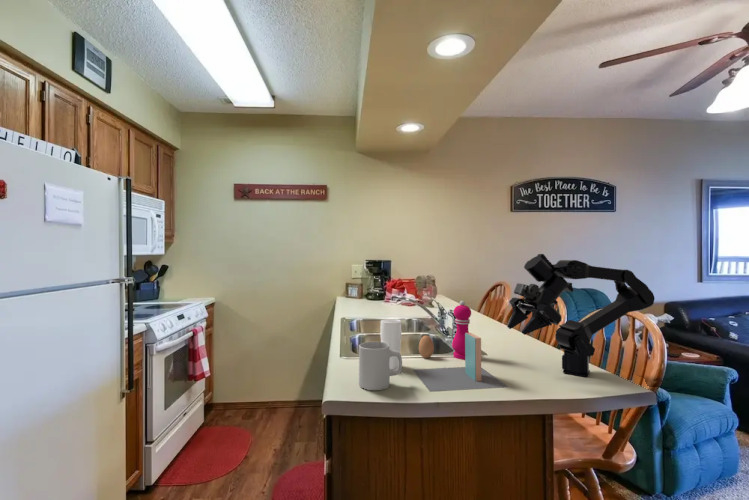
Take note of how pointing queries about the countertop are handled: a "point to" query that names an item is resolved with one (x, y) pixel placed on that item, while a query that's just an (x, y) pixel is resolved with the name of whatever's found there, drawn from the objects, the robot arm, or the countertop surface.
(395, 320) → the white cylinder
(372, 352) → the mug
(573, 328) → the robot arm
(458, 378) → the charcoal rubber mat
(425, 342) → the egg
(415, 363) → the countertop surface
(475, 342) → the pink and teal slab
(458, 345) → the pepper mill
